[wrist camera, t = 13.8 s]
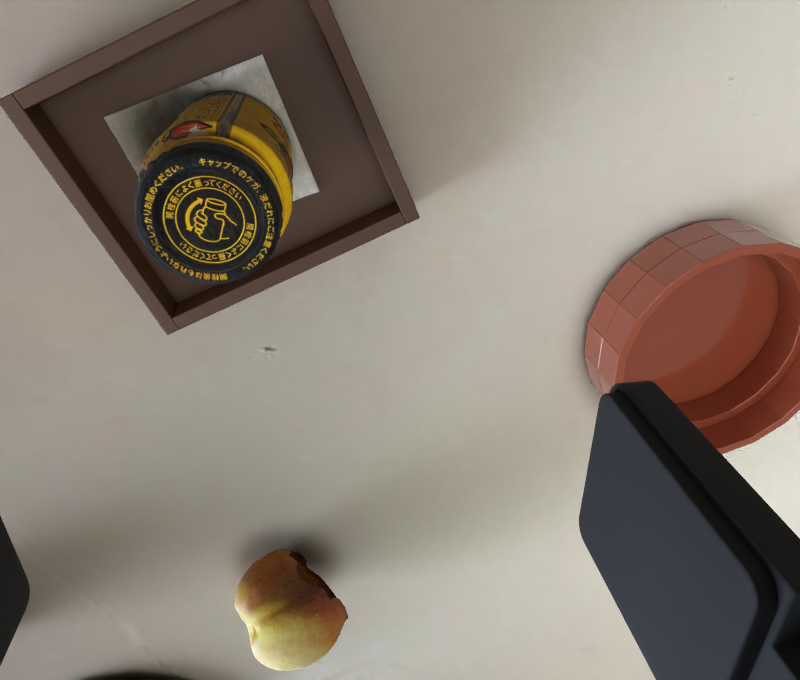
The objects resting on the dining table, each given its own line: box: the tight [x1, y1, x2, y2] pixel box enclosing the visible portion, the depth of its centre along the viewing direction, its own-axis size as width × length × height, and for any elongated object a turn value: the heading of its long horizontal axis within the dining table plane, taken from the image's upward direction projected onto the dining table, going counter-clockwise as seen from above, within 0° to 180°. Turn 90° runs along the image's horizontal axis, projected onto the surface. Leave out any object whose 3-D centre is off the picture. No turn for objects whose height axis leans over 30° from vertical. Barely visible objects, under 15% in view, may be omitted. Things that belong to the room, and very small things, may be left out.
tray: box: [0, 0, 420, 335], centre depth 32 cm, size 16×14×2 cm
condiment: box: [104, 55, 319, 284], centre depth 27 cm, size 7×8×12 cm
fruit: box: [234, 549, 348, 671], centre depth 44 cm, size 8×8×8 cm
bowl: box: [584, 220, 800, 454], centre depth 41 cm, size 15×15×5 cm
